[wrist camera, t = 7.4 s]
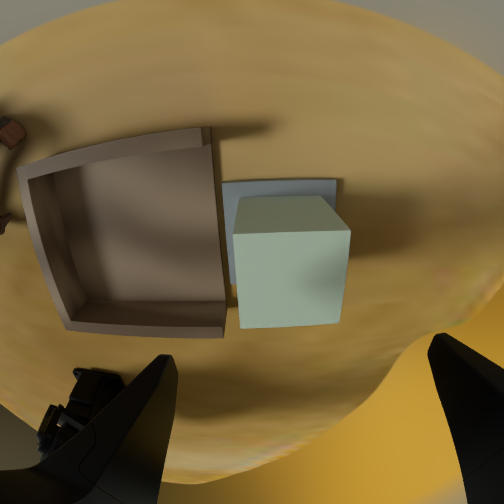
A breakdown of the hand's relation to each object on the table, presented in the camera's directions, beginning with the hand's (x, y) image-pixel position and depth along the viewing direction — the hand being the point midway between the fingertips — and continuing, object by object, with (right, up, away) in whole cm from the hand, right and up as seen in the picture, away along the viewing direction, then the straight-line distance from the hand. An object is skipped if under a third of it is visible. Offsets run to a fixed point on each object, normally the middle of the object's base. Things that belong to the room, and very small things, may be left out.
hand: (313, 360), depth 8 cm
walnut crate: (-11, +5, +10) cm, 16 cm away
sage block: (0, +5, +10) cm, 11 cm away
